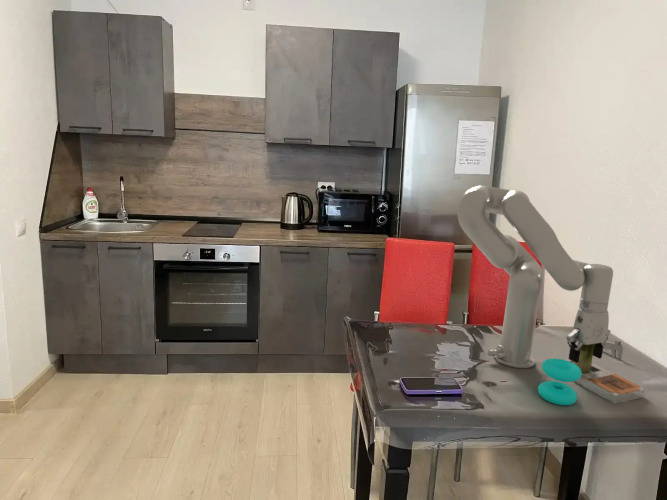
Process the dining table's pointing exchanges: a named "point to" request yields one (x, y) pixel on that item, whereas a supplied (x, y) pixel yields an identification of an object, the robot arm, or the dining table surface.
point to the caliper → (614, 348)
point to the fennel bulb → (585, 358)
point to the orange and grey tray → (609, 385)
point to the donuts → (555, 389)
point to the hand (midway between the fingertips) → (585, 358)
